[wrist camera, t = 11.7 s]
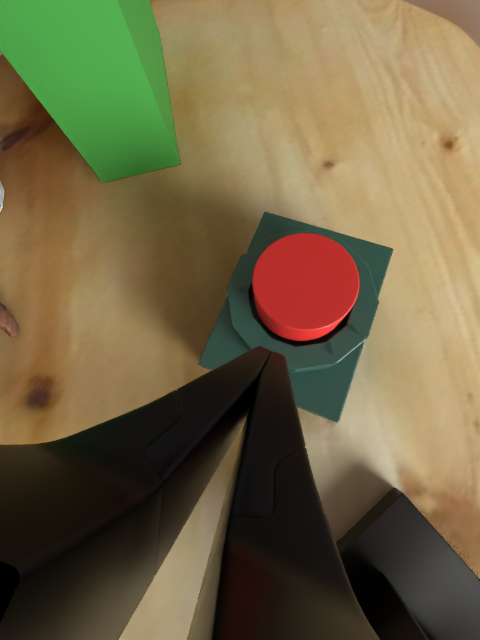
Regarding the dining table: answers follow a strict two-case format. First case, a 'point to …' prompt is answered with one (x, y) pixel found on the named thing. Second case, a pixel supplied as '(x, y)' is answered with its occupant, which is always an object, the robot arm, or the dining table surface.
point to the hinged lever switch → (409, 576)
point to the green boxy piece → (301, 356)
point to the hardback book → (96, 78)
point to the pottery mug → (8, 322)
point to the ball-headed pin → (1, 196)
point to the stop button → (304, 286)
